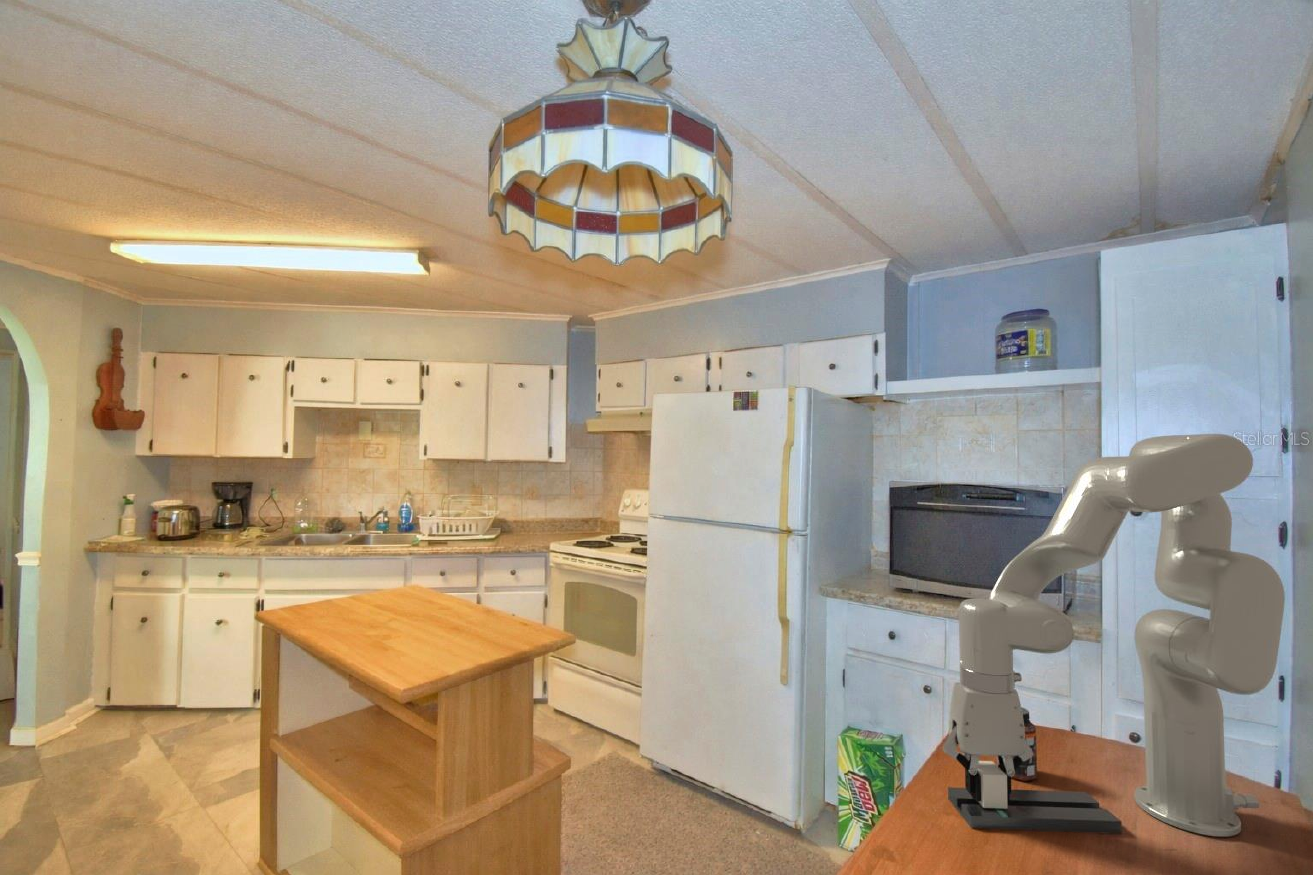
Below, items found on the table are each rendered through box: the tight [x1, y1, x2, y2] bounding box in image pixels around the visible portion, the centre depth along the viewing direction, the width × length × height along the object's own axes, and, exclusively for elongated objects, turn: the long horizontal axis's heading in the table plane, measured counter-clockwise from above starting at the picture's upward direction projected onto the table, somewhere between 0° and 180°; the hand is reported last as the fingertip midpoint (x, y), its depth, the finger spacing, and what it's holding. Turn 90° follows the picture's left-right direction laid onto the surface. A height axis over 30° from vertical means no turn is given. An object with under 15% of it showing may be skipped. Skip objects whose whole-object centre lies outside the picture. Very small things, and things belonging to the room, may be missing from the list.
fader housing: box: [947, 787, 1123, 834], centre depth 94 cm, size 22×8×2 cm, turn 87°
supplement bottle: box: [1011, 706, 1038, 782], centre depth 107 cm, size 6×6×11 cm
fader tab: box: [978, 760, 1007, 809], centre depth 94 cm, size 4×4×6 cm
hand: (988, 795), depth 94 cm, fingers closed on fader tab, 3 cm apart
